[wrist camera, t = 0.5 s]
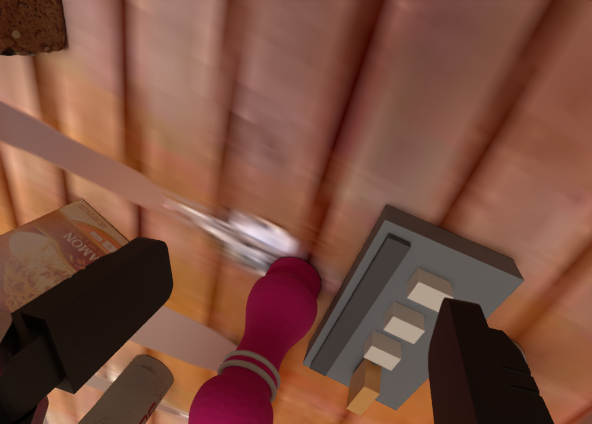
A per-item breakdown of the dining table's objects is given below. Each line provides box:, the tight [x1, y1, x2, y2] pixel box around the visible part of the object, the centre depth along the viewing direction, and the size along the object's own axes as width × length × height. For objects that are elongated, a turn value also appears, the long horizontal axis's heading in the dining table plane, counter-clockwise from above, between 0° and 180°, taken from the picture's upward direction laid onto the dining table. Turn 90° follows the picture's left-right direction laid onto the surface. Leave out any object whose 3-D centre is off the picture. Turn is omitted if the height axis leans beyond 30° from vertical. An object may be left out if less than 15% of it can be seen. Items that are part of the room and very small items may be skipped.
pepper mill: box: [188, 257, 321, 424], centre depth 28 cm, size 7×7×20 cm
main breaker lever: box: [346, 358, 381, 416], centre depth 33 cm, size 5×2×4 cm, turn 162°
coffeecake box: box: [0, 199, 129, 313], centre depth 35 cm, size 15×7×20 cm, turn 45°
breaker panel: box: [303, 205, 524, 410], centre depth 32 cm, size 22×12×5 cm, turn 162°
